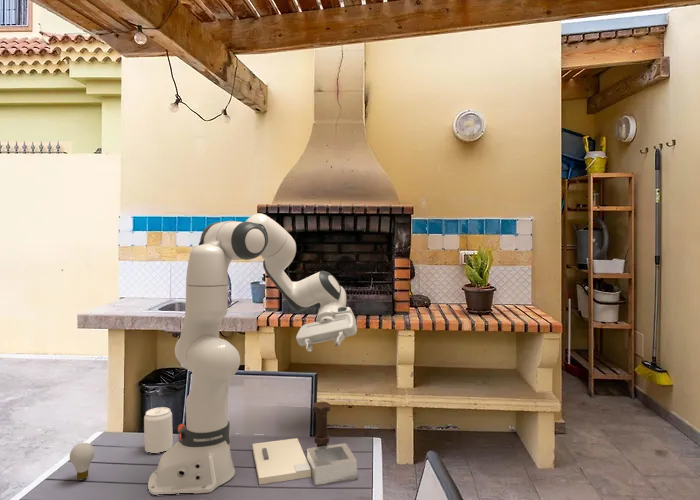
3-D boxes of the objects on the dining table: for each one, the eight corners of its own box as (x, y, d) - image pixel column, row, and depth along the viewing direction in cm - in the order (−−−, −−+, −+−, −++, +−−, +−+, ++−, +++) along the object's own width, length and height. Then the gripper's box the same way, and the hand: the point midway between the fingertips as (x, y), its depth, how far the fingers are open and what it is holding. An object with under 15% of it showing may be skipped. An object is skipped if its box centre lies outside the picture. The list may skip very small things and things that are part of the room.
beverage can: (142, 456, 144) (142, 417, 144) (146, 445, 152) (145, 408, 152) (171, 453, 146) (170, 414, 146) (173, 442, 154) (173, 405, 154)
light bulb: (99, 477, 132) (98, 441, 132) (78, 487, 127) (77, 450, 126) (87, 472, 135) (86, 437, 135) (65, 481, 130) (64, 445, 129)
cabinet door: (259, 484, 127) (259, 475, 127) (252, 449, 148) (252, 441, 148) (311, 476, 131) (310, 467, 131) (297, 443, 152) (297, 435, 152)
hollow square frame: (315, 485, 126) (315, 466, 126) (307, 465, 137) (307, 448, 137) (357, 478, 130) (357, 460, 129) (345, 459, 141) (345, 443, 140)
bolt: (329, 457, 142) (329, 407, 142) (312, 457, 142) (312, 407, 142) (331, 449, 148) (330, 401, 148) (314, 449, 148) (314, 401, 148)
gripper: (298, 318, 163) (288, 345, 151) (354, 306, 157) (349, 333, 146) (305, 332, 166) (296, 360, 154) (360, 320, 160) (356, 348, 148)
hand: (322, 347), depth 150 cm, fingers open, 8 cm apart
